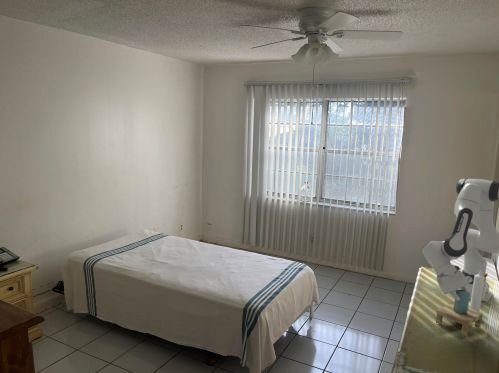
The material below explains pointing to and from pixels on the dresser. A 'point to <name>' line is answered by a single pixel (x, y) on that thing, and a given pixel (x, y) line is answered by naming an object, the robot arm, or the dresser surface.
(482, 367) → the dresser surface
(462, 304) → the teal domed cylinder
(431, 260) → the robot arm
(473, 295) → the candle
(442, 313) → the small wooden stool
